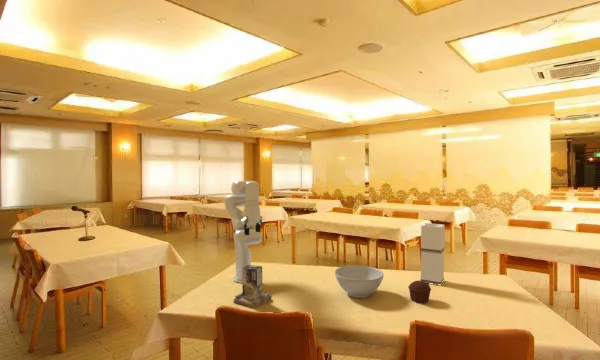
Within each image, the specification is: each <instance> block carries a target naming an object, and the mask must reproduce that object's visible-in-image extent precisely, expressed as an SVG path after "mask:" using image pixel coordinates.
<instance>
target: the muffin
mask: <svg viewBox="0 0 600 360" xmlns="http://www.w3.org/2000/svg"><path fill="white" fill-rule="evenodd" d="M408 290H409V295H410V296H409V297H410V300H411V302H413V301H414V303H415V302H416V304H420V303H423V304H427V303H429V302H428V301H430V295H431V290H432V288H431V286H430V284H427V283H426V282H424V281H421V280H415V281H412V282H411V283H410V284H409V285H408Z"/></svg>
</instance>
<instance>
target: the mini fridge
mask: <svg viewBox="0 0 600 360" xmlns="http://www.w3.org/2000/svg"><path fill="white" fill-rule="evenodd" d="M445 226H446V225H445V224H440V223H426V222H425V223H424V225H420V229H421V230H420V232H421V233H420V238H421V240H420V281H424V282H426V283H433V284H441V283H442V281H443V280H445V278H444V269H445V268H444V264H445V262H444V261H445V258H444V257H445ZM443 282H444V281H443ZM442 284H443V283H442Z"/></svg>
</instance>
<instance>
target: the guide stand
mask: <svg viewBox="0 0 600 360" xmlns="http://www.w3.org/2000/svg"><path fill="white" fill-rule="evenodd" d="M234 297H235V298H233V303H234V304H236V305H241V306H244V307H248V308H250V309H251V308H252V309H254V308H255V309H256V308H258V307H260V306H261V305H262V306H263V304H265V303H267V302H269V301H271V300H272V295H271V293H270V292H267V293H263V296H261V297H259V298H257V299H255V300H254V299H247V298H243V291H241V292H239V293H238V294H235V296H234Z"/></svg>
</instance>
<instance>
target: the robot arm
mask: <svg viewBox="0 0 600 360" xmlns="http://www.w3.org/2000/svg"><path fill="white" fill-rule="evenodd" d="M259 188H260V187H259V182H258V181H255V180H235V181H233V182H232V184H231V187H230V190H231V192H232V194H229V195H226V196H225V198H224V206H225V209H226V212H227V213H228V215H229V216H230V219H231V222H232V223H231V224H232V227H233V231H235V232H234V234H233V240H234V250H235V252H234V253H235V276H234V277H233V280H232V281H233V282H235V283H238V284H239V283H240V284H242V268H244V267H245V266H247V265H252V253H251V250H250V248H249V247H248V246H249V245H258V244H260V243H261V242H262V240H263V235H262V231H261V225H262V223H263V219H264V217H263V216H262V215H261V208H260V195H259V194H260V191H259V190H260V189H259ZM240 207H244V208H243V211H242V210H241V209H240Z"/></svg>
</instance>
